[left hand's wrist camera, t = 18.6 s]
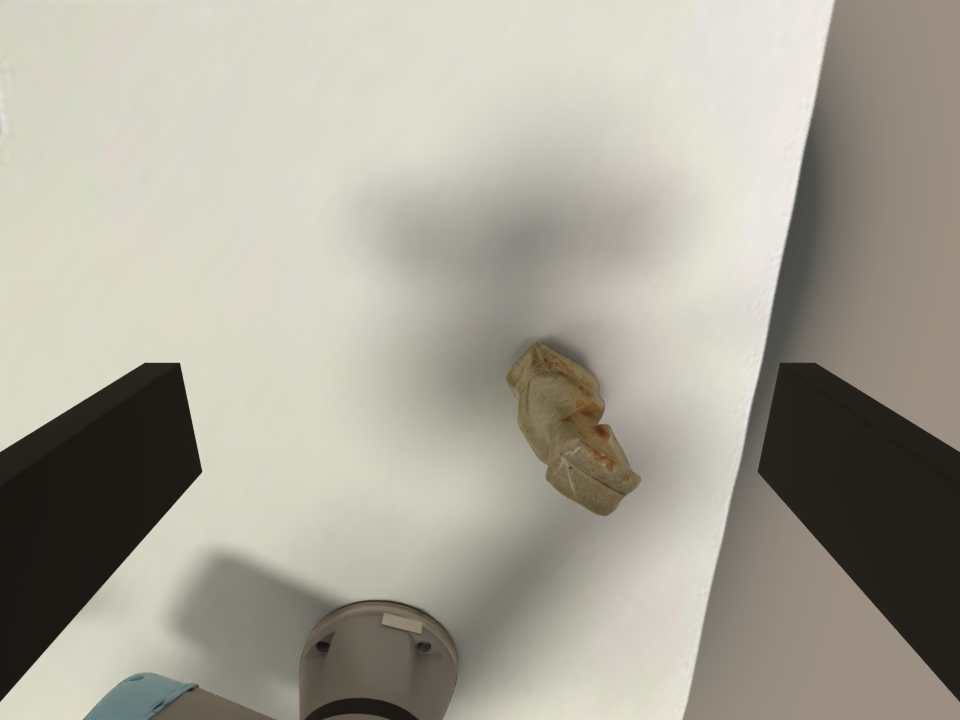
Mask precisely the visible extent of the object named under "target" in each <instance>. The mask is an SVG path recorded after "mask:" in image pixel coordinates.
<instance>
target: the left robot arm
mask: <svg viewBox="0 0 960 720" xmlns="http://www.w3.org/2000/svg"><path fill="white" fill-rule="evenodd" d="M201 473H202V468H201V463H200V458H199V454H198V449H197V444H196V439H195V434H194V429H193V424H192V419H191V415H190V410H189V405H188V400H187V395H186V390H185V385H184V380H183V376H182V371H181V366H180V363H144V364H142V365H141V366H139V367H137V368H136V369H134V370H132V371H131V372H129V373H128V374H126V375H124V376H123V377H121V378H120V379H118V380H116V381H115V382H113V383H111V384H110V385H108V386H107V387H105V388H103V389H102V390H100V391H98V392H97V393H95V394H94V395H92V396H90V397H89V398H87V399H86V400H84V401H82V402H81V403H79V404H77V405H76V406H74V407H73V408H71V409H69V410H68V411H66V412H64V413H63V414H61V415H60V416H58V417H56V418H55V419H53V420H51V421H50V422H48V423H47V424H45V425H43V426H42V427H40V428H39V429H37V430H35V431H34V432H32V433H30V434H29V435H27V436H26V437H24V438H22V439H21V440H19V441H17V442H16V443H14V444H13V445H11V446H9V447H8V448H6V449H5V450H3V451H1V452H0V702H1V700H2V699H3V698H4V697H5V696H6V695H7V694H8V692H9V691H10V690H11V689H12V688H13V687H14V686H15V684H16V683H17V682H18V681H19V680H20V679H21V678H22V676H23V675H24V674H25V673H26V672H27V671H28V670H29V669H30V667H31V666H32V665H33V664H34V663H35V662H36V661H37V659H38V658H39V657H40V656H41V655H42V654H43V653H44V651H45V650H46V649H47V648H48V647H49V646H50V645H51V644H52V642H53V641H54V640H55V639H56V638H57V637H58V636H59V634H60V633H61V632H62V631H63V630H64V629H65V628H66V626H67V625H68V624H69V623H70V622H71V621H72V620H73V618H74V617H75V616H76V615H77V614H78V613H79V612H80V611H81V609H82V608H83V607H84V606H85V605H86V604H87V603H88V601H89V600H90V599H91V598H92V597H93V596H94V595H95V593H96V592H97V591H98V590H99V589H100V588H101V587H102V585H103V584H104V583H105V582H106V581H107V580H108V579H109V578H110V576H111V575H112V574H113V573H114V572H115V571H116V570H117V568H118V567H119V566H120V565H121V564H122V563H123V562H124V560H125V559H126V558H127V557H128V556H129V555H130V554H131V552H132V551H133V550H134V549H135V548H136V547H137V546H138V545H139V543H140V542H141V541H142V540H143V539H144V538H145V537H146V535H147V534H148V533H149V532H150V531H151V530H152V529H153V527H154V526H155V525H156V524H157V523H158V522H159V521H160V519H161V518H162V517H163V516H164V515H165V514H166V513H167V512H168V510H169V509H170V508H171V507H172V506H173V505H174V504H175V502H176V501H177V500H178V499H179V498H180V497H181V496H182V494H183V493H184V492H185V491H186V490H187V489H188V488H189V487H190V485H191V484H192V483H193V482H194V481H195V480H196V479H197V477H198V476H199V475H200V474H201ZM758 473H759V474H760V475H761V476H762V477H763V479H764V480H765V481H766V482H767V483H768V484H769V485H770V487H771V488H772V489H773V490H774V491H775V492H776V493H777V494H778V496H779V497H780V498H781V499H782V500H783V501H784V502H785V503H786V505H787V506H788V507H789V508H790V509H791V510H792V511H793V513H794V514H795V515H796V516H797V517H798V518H799V519H800V521H801V522H802V523H803V524H804V525H805V526H806V527H807V529H808V530H809V531H810V532H811V533H812V534H813V535H814V537H815V538H816V539H817V540H818V541H819V542H820V543H821V545H822V546H823V547H824V548H825V549H826V550H827V551H828V552H829V554H830V555H831V556H832V557H833V558H834V559H835V560H836V562H837V563H838V564H839V565H840V566H841V567H842V568H843V570H844V571H845V572H846V573H847V574H848V575H849V576H850V577H851V579H852V580H853V581H854V582H855V583H856V584H857V585H858V587H859V588H860V589H861V590H862V591H863V592H864V593H865V595H866V596H867V597H868V598H869V599H870V600H871V601H872V603H873V604H874V605H875V606H876V607H877V608H878V609H879V611H880V612H881V613H882V614H883V615H884V616H885V617H886V618H887V620H888V621H889V622H890V623H891V624H892V625H893V626H894V628H895V629H896V630H897V631H898V632H899V633H900V634H901V636H902V637H903V638H904V639H905V640H906V641H907V642H908V643H909V645H910V646H911V647H912V648H913V649H914V650H915V651H916V653H917V654H918V655H919V656H920V657H921V658H922V659H923V661H924V662H925V663H926V664H927V665H928V666H929V667H930V669H931V670H932V671H933V672H934V673H935V674H936V675H937V676H938V678H939V679H940V680H941V681H942V682H943V683H944V684H945V686H946V687H947V688H948V689H949V690H950V691H951V692H952V694H953V695H954V696H955V697H956V698H957V699H958V700H959V701H960V452H959V451H957V450H955V449H954V448H952V447H951V446H949V445H947V444H946V443H944V442H943V441H941V440H939V439H938V438H936V437H934V436H933V435H931V434H929V433H928V432H926V431H925V430H923V429H921V428H920V427H918V426H917V425H915V424H913V423H912V422H910V421H908V420H907V419H905V418H904V417H902V416H900V415H899V414H897V413H896V412H894V411H892V410H891V409H889V408H887V407H886V406H884V405H883V404H881V403H879V402H878V401H876V400H874V399H873V398H871V397H870V396H868V395H866V394H865V393H863V392H862V391H860V390H858V389H857V388H855V387H853V386H852V385H850V384H849V383H847V382H845V381H844V380H842V379H840V378H839V377H837V376H836V375H834V374H832V373H831V372H829V371H827V370H826V369H824V368H823V367H821V366H819V365H818V364H816V363H780V366H779V371H778V376H777V380H776V385H775V390H774V395H773V400H772V405H771V410H770V415H769V419H768V424H767V429H766V434H765V439H764V444H763V449H762V454H761V458H760V463H759V468H758ZM456 678H457V654H456V650H455V647H454V644H453V642H452V640H451V638H450V637H449V635H448V634H447V633H446V631H445V630H444V629H443V628H442V627H441V626H440V625H439V624H438V623H437V622H436V621H434V620H433V619H432V618H430V617H429V616H427V615H425V614H424V613H422V612H420V611H418V610H415V609H413V608H410V607H407V606H404V605H400V604H395V603H389V602H364V603H357V604H353V605H349V606H346V607H343V608H341V609H338V610H336V611H334V612H332V613H331V614H329V615H327V616H326V617H325V618H323V619H322V620H321V621H320V622H319V623H318V624H317V625H316V626H315V627H314V629H313V630H312V632H311V633H310V635H309V637H308V639H307V642H306V645H305V648H304V651H303V654H302V657H301V661H300V670H299V691H300V720H443V717H444V715H445V713H446V710H447V708H448V705H449V703H450V700H451V698H452V695H453V692H454V688H455V685H456ZM83 720H275V719H273V718H270V717H268V716H265V715H263V714H261V713H258V712H256V711H253V710H251V709H249V708H246V707H244V706H241V705H239V704H237V703H234V702H232V701H229V700H227V699H224V698H222V697H220V696H217V695H215V694H212V693H210V692H208V691H205V690H203V689H200V688H199V685H197V684H195V683H188V684H185V683H182V682H179V681H176V680H173V679H170V678H167V677H164V676H161V675H158V674H155V673H139V674H135V675H133V676H131V677H128V678H127V679H125V680H123V681H122V682H121V683H119V684H118V685H117V686H116V687H114V688H113V689H112V690H111V691H110V692H109V693H108V694H107V695H106V696H104V697H103V698H102V700H101V701H100V702H99V703H98V704H97V705H96V706H95V707H94V708H93V709H92V710H91V711H90V712H89V713H88V715H87V716H86V717H85V718H84V719H83Z"/></svg>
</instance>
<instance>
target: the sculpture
mask: <svg viewBox="0 0 960 720" xmlns="http://www.w3.org/2000/svg"><path fill="white" fill-rule="evenodd" d="M506 379H507V382H508V385H509V386H510V388H511V390H512V392H513V393H514V395H515V397H516V398H517V400H518V401H519V408H518V424H519V427H520V429H521V431H522V432H523V434H524V436H525V438H526V439H527V441H528V443H529V444H530V446H531V448H532V449H533V451H534V452H535V454H536V455H537V457H538V458H539V459H540V460H541V461H542V462H544V463H545V464H547V465H549V466H548V469H547V472H546V480H547V481H548V482H550V483H551V484H552V485H553V486H554V488H555V489H557V490H558V491H559V492H560V493H561V494H563V495H564V496H566V497H567V498H569V499H571V500H573V501H575V502H576V503H578V504H580V505H582V506H583V507H585V508H587V509H588V510H590V511H591V512H593V513H595V514H598V515H602V516H607V515H609V514H610V513H612V512H613V511H614V510H616V508H617V507H618V505H619V503H620V501H621V500H622V498H623V497H624V496H626V495H627V494H629V493H630V492H632V491H633V490H634V489H635V488H636V487H637V486H638V485H639V483H640V482H641V478H640V476H638V475H637V474H636V473H635V472H633V471H632V470H631V469H630V466H629V463H628V460H627V458H626V456H625V454H624V452H623V450H622V448H621V447H620V445H619V443H618V442H617V440H616V438H615V436H614V434H613V431H612V429H611V427H610V426H609V425H607V424H600V425H597V424H598V422H599V421H600V419H601V418H602V415H603V413H604V409H605V403H604V400H603V399H602V397H600V396H599V393H600V385H599V383H598V381H597V379H596V378H595V377H594V376H593V375H592V374H591V373H590V372H589V371H588V370H586V369H585V368H584V367H582V366H580V365H579V364H577V363H575V362H573V361H572V360H570V359H568V358H566V357H564V356H562V355H560V354H558V353H556V352H555V351H553V350H551V349H550V348H548V347H547V346H546V345H544V344H542V343H539V342H537V343H535V344H534V345H533V346H532V347H530V349H528V350H527V351H526V352H525V353H524V354H523V355H522V357H521V358H520V359H519V360H518V361H517V362H516V363H515V364H514V366H513V367H512V369H511V370H510V371H509V373H508V375H507V377H506Z"/></svg>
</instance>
